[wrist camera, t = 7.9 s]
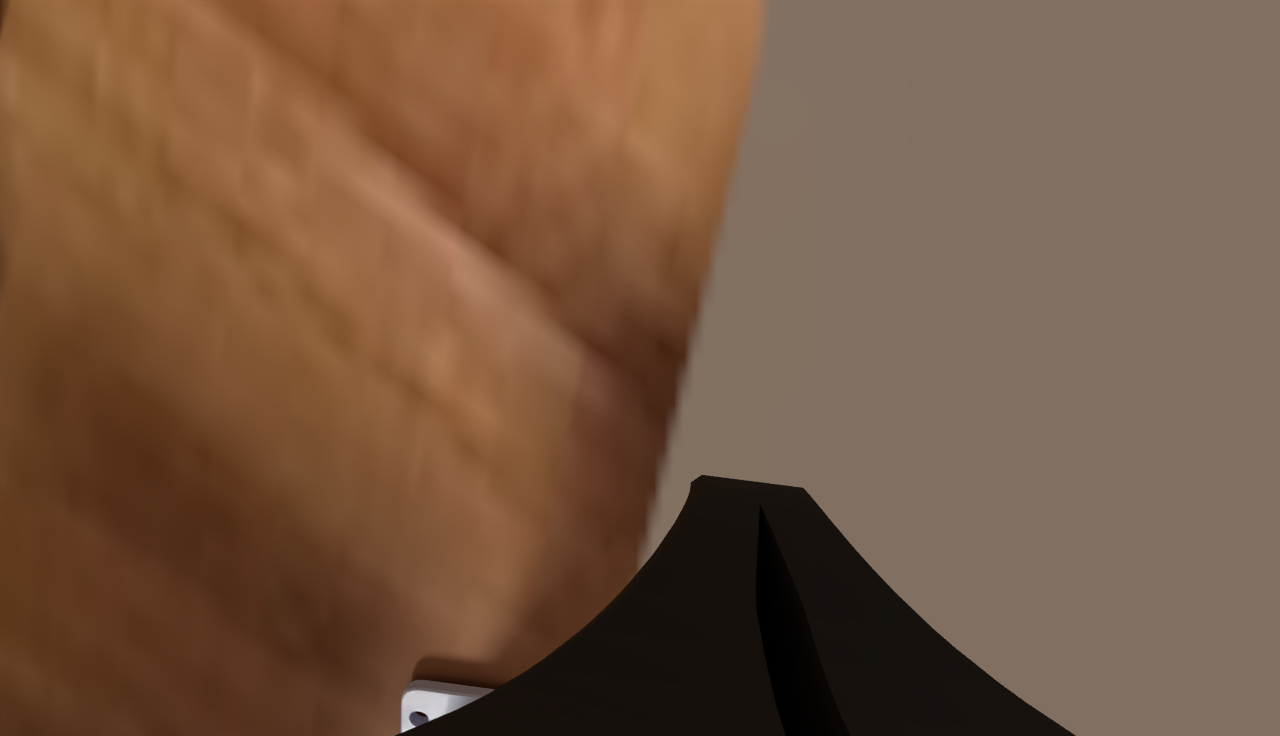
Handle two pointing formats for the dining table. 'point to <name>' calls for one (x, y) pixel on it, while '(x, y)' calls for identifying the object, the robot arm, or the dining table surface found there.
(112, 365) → the dining table surface
